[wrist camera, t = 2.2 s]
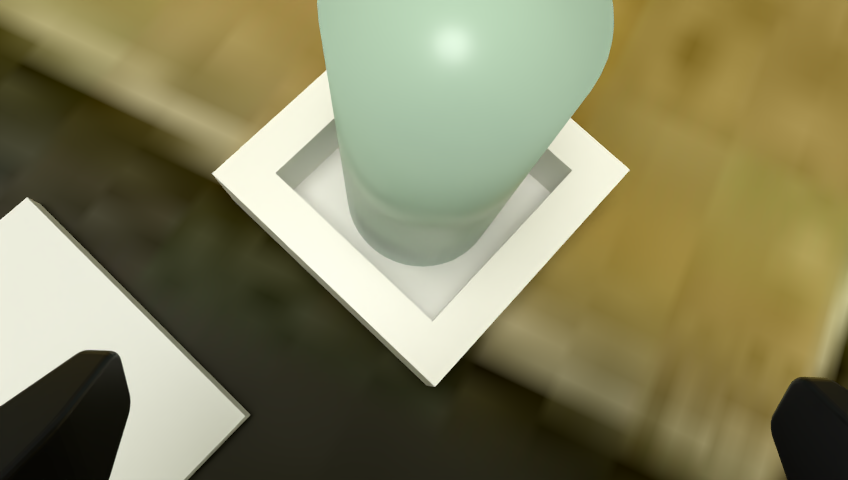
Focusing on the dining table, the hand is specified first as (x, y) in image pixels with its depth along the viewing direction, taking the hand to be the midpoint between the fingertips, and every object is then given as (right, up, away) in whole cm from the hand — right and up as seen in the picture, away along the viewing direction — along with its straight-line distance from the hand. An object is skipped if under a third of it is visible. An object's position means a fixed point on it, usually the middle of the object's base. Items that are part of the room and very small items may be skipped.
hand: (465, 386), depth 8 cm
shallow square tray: (-1, +3, +13) cm, 14 cm away
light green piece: (-1, +4, +13) cm, 13 cm away
